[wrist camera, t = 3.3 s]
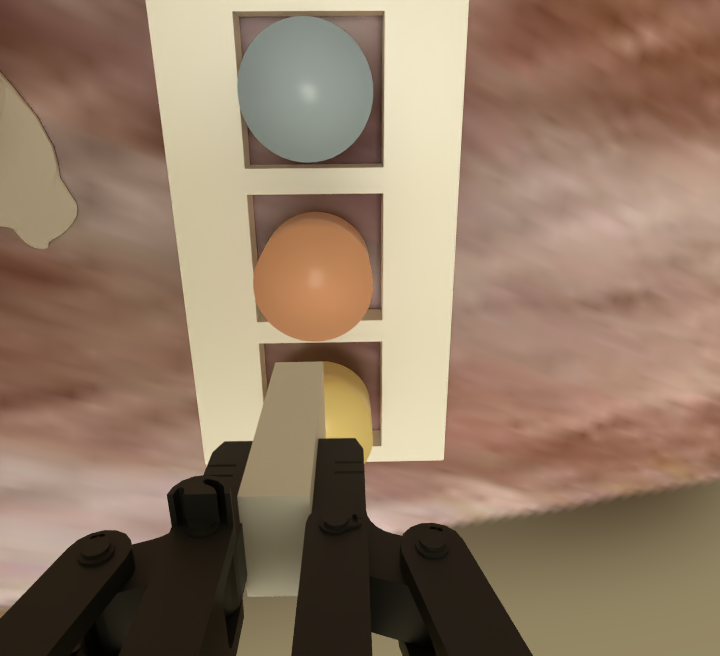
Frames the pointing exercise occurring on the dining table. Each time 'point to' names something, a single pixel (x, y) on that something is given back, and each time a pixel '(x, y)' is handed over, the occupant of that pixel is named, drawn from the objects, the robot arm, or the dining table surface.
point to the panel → (241, 181)
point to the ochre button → (347, 406)
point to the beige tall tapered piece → (30, 175)
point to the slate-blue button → (305, 89)
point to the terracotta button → (314, 277)
